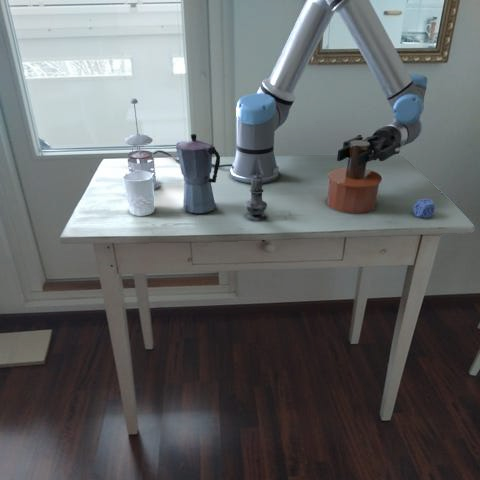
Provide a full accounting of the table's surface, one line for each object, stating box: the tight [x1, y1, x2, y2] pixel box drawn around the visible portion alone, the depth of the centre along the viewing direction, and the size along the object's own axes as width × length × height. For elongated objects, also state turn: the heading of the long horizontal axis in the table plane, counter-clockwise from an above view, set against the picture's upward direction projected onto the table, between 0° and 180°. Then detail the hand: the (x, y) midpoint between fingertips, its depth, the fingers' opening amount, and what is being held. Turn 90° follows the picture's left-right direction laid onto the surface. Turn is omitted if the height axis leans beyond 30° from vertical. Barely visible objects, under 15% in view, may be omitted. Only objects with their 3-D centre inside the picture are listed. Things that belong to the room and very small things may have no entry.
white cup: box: [122, 171, 156, 217], centre depth 131 cm, size 8×8×10 cm
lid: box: [327, 140, 383, 188], centre depth 131 cm, size 15×15×10 cm
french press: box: [124, 98, 161, 191], centre depth 142 cm, size 10×12×25 cm
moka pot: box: [175, 133, 221, 214], centre depth 129 cm, size 10×15×20 cm, turn 54°
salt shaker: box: [245, 174, 268, 222], centre depth 128 cm, size 6×6×12 cm
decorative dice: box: [413, 198, 436, 219], centre depth 131 cm, size 4×4×4 cm
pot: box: [326, 178, 380, 214], centre depth 136 cm, size 14×14×8 cm
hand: (348, 158), depth 127 cm, fingers closed on lid, 5 cm apart
